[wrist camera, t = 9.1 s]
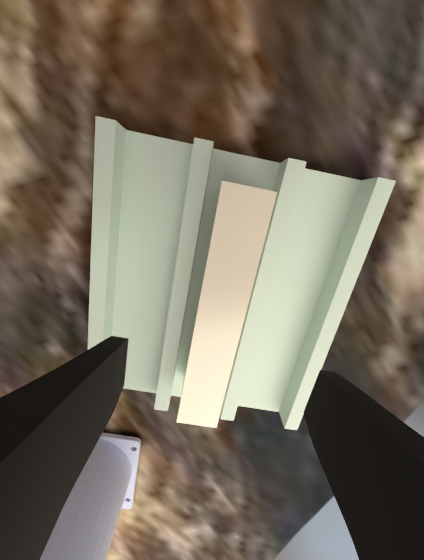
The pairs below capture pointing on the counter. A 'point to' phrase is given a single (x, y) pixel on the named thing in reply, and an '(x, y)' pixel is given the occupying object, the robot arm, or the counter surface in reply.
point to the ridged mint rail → (192, 256)
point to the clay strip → (224, 298)
